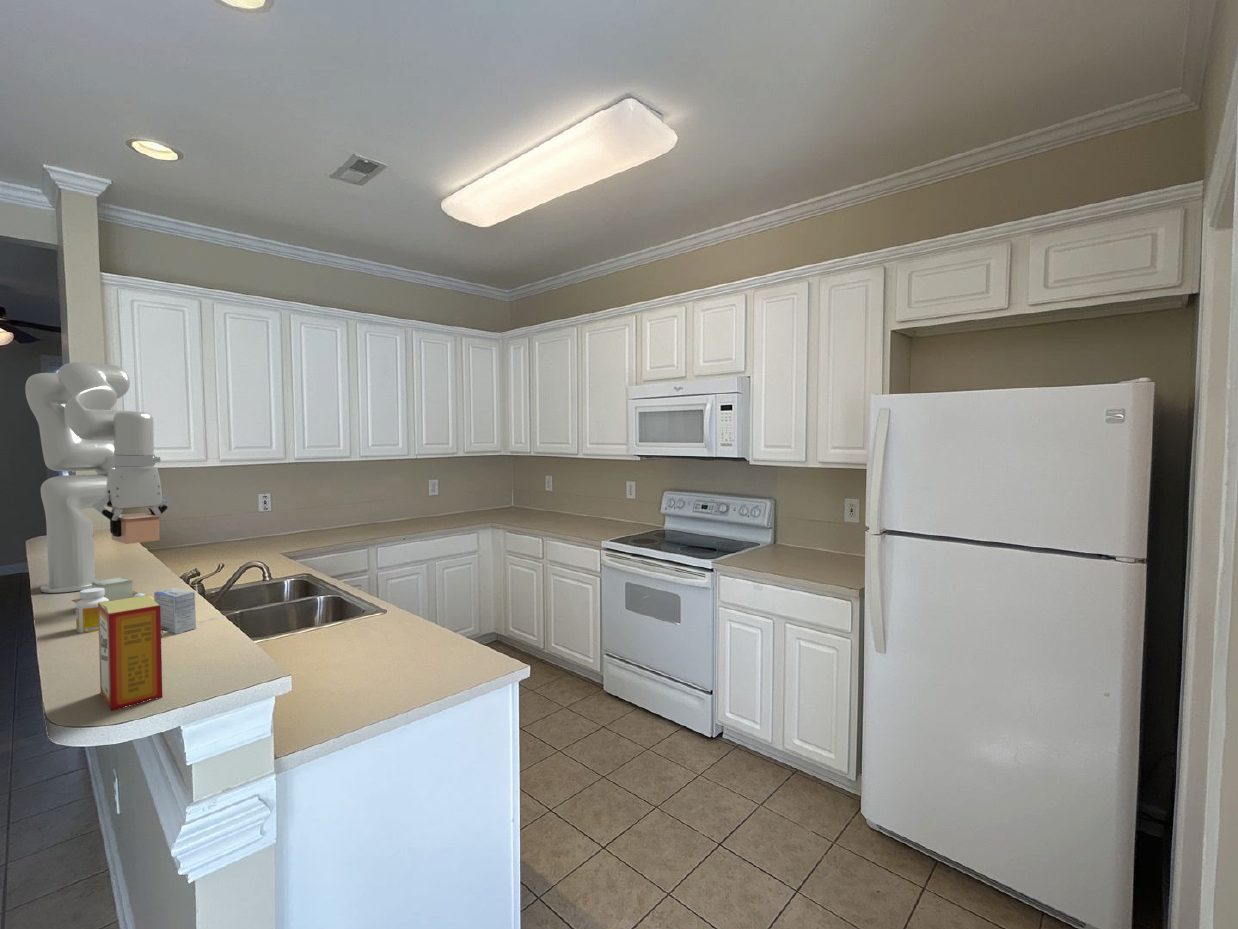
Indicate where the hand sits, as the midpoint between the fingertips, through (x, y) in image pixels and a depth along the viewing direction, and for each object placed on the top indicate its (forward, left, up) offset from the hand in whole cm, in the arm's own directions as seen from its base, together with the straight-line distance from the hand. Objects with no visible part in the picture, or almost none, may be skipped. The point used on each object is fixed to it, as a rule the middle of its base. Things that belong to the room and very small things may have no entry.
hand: (135, 533), depth 143 cm
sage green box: (-4, -3, -18) cm, 19 cm away
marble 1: (+2, 0, -17) cm, 18 cm away
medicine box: (+25, -1, -19) cm, 31 cm away
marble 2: (+6, 0, -18) cm, 19 cm away
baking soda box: (+57, -20, -19) cm, 63 cm away
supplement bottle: (+14, -12, -19) cm, 27 cm away
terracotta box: (0, 0, -2) cm, 2 cm away
